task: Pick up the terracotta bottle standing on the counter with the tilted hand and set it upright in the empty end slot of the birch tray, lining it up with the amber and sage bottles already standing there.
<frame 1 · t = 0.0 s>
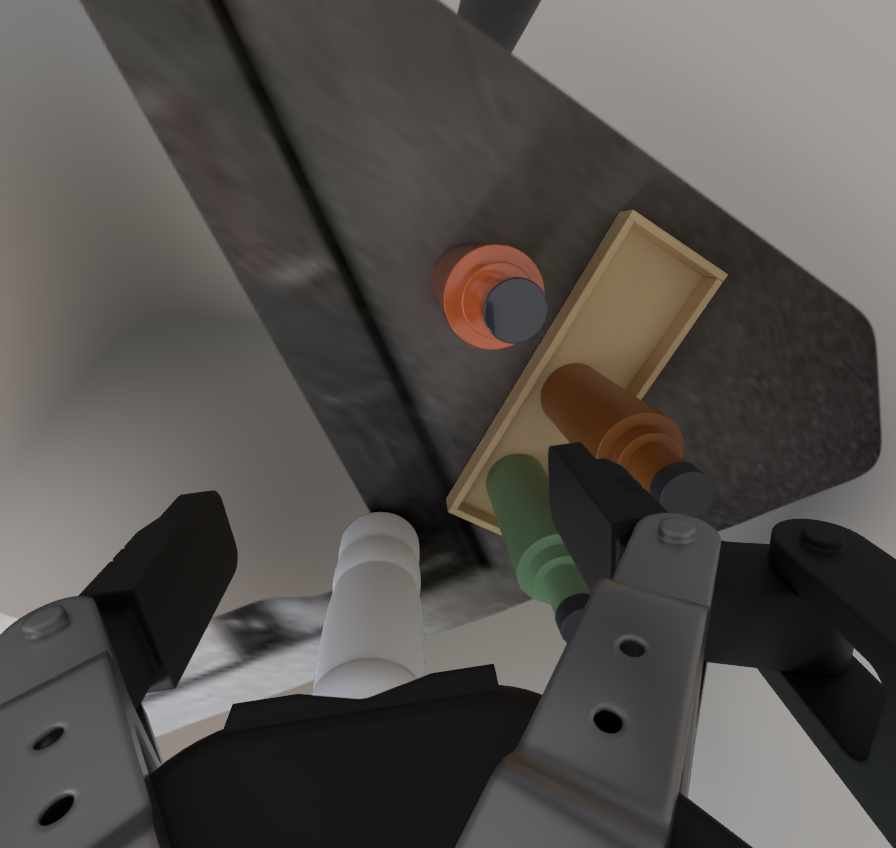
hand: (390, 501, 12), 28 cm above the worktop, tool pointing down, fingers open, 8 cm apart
sage bottle: (515, 481, 43), resting on tray
tray: (569, 392, 41), on the worktop
amber bottle: (571, 394, 40), resting on tray
water bottle: (380, 540, 44), on the worktop
terracotta bottle: (465, 282, 37), on the worktop
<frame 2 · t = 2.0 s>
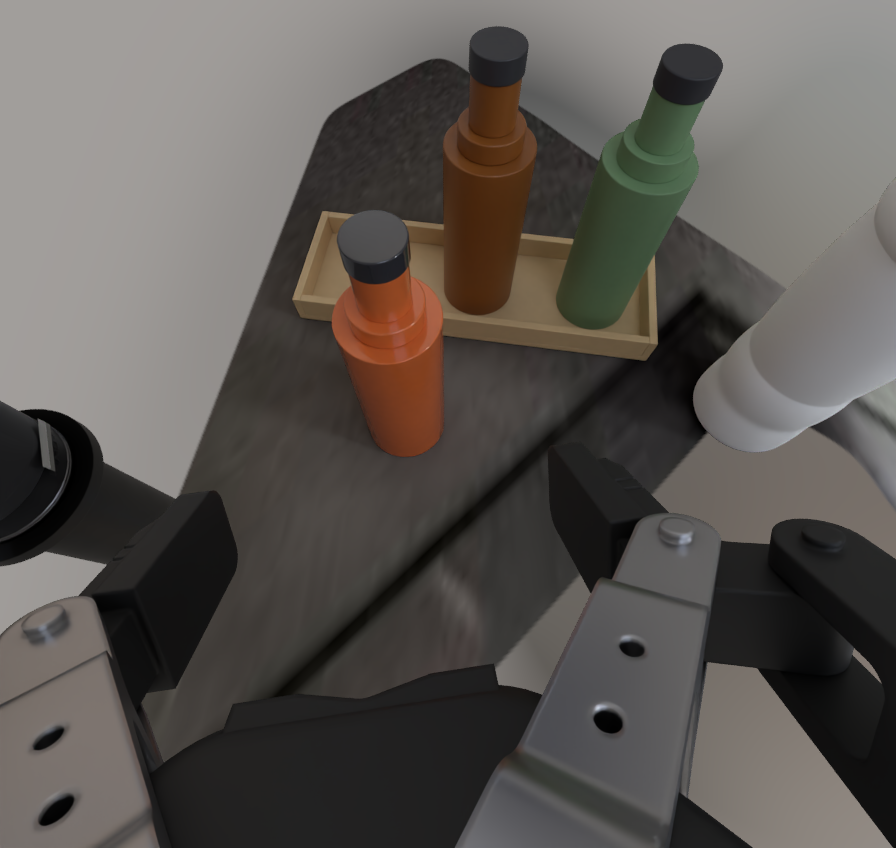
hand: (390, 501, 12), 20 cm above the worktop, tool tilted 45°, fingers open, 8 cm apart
sage bottle: (589, 301, 38), resting on tray
tray: (476, 292, 39), on the worktop
amber bottle: (477, 288, 39), resting on tray
water bottle: (736, 411, 35), on the worktop
terracotta bottle: (406, 421, 35), on the worktop
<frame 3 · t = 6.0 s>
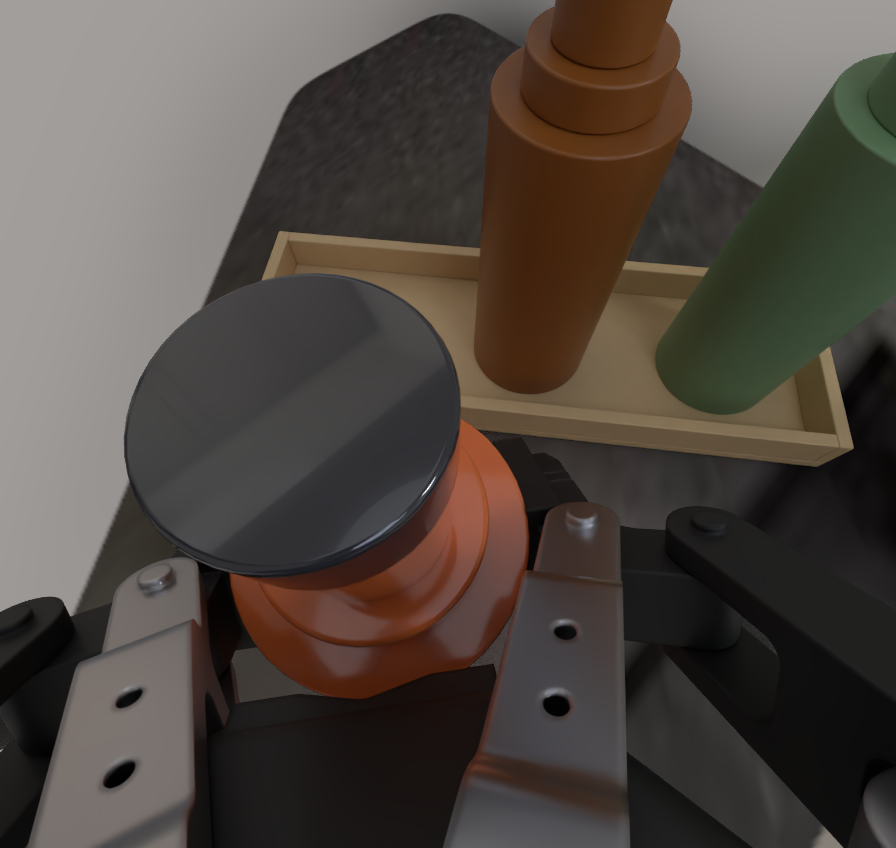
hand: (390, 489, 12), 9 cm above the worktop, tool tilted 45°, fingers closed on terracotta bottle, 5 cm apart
sage bottle: (710, 366, 24), resting on tray
tray: (525, 353, 25), on the worktop
amber bottle: (527, 347, 24), resting on tray
terracotta bottle: (421, 594, 20), on the worktop, touching gripper
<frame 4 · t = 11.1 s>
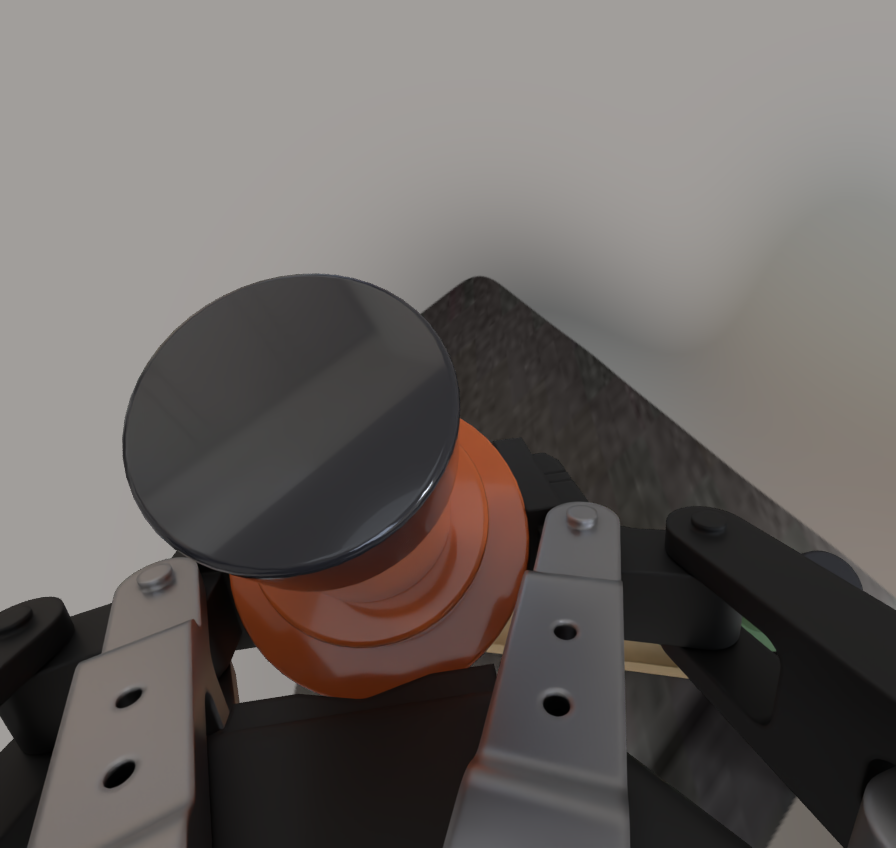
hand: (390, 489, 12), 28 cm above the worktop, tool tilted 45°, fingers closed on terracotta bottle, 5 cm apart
sage bottle: (665, 608, 36), resting on tray
tray: (544, 593, 38), on the worktop
terracotta bottle: (421, 594, 20), point 19 cm above the worktop, touching gripper
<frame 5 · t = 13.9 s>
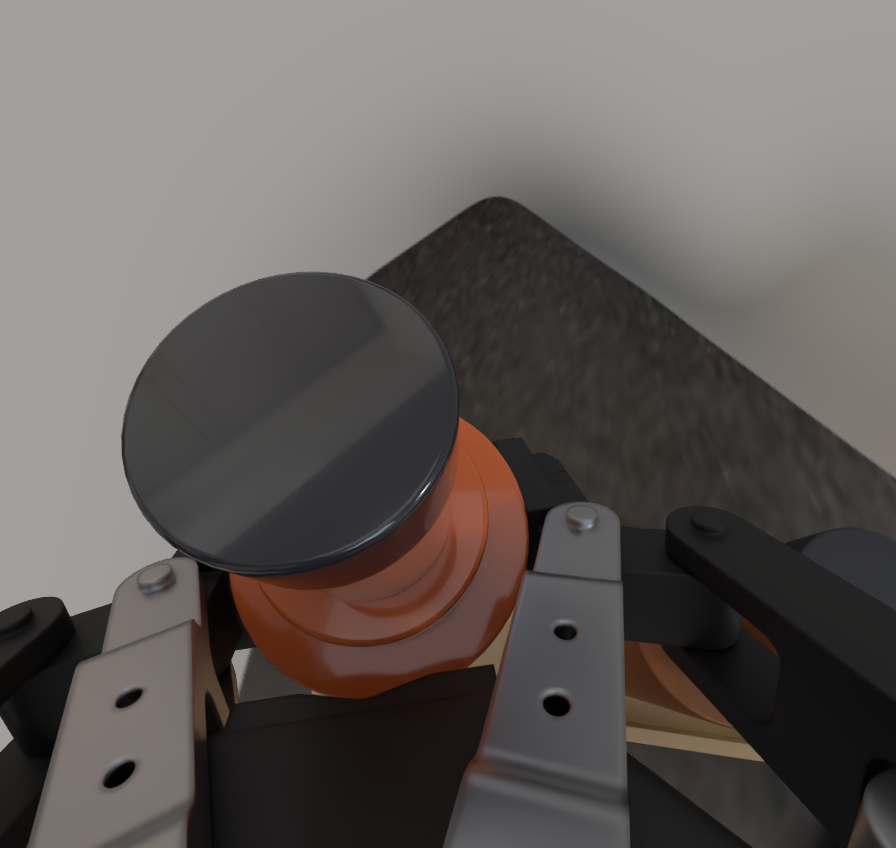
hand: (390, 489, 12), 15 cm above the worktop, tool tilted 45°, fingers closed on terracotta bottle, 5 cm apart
tray: (597, 628, 25), on the worktop
amber bottle: (600, 627, 25), resting on tray
terracotta bottle: (421, 593, 20), point 6 cm above the worktop, touching gripper
when the fingers open (10 cm above the worktop, at t = 16.0 s): terracotta bottle stays where it is, resting on tray.
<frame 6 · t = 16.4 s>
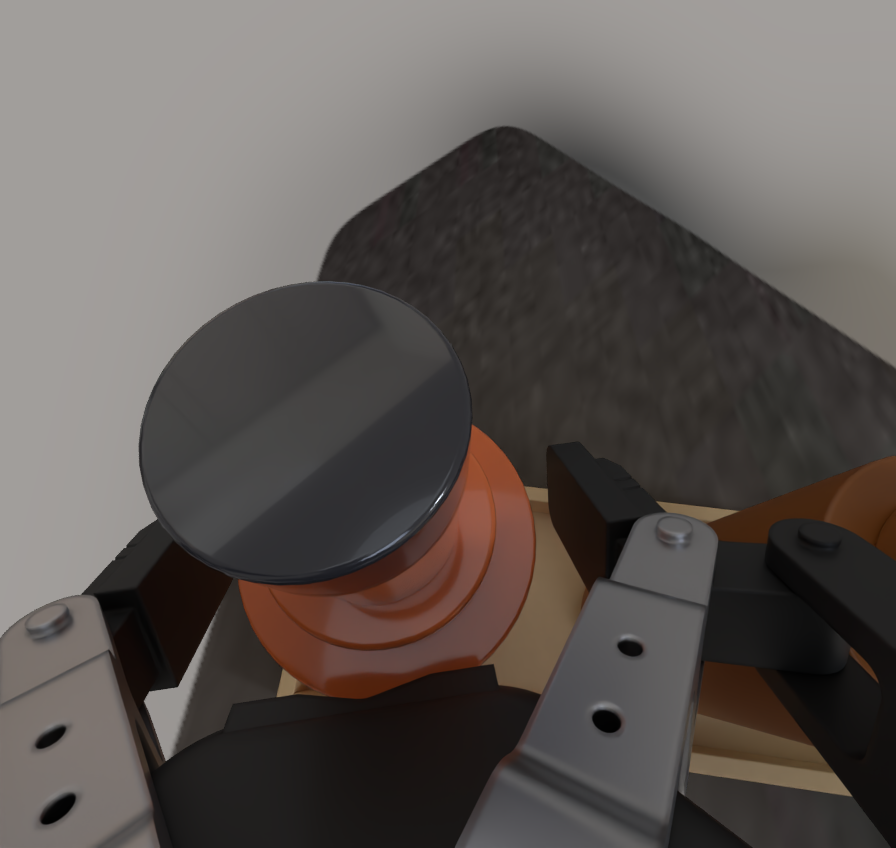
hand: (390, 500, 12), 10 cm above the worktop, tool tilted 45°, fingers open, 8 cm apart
tray: (639, 623, 20), on the worktop
amber bottle: (646, 622, 19), point 1 cm above the worktop, touching tray
terracotta bottle: (426, 594, 20), resting on tray
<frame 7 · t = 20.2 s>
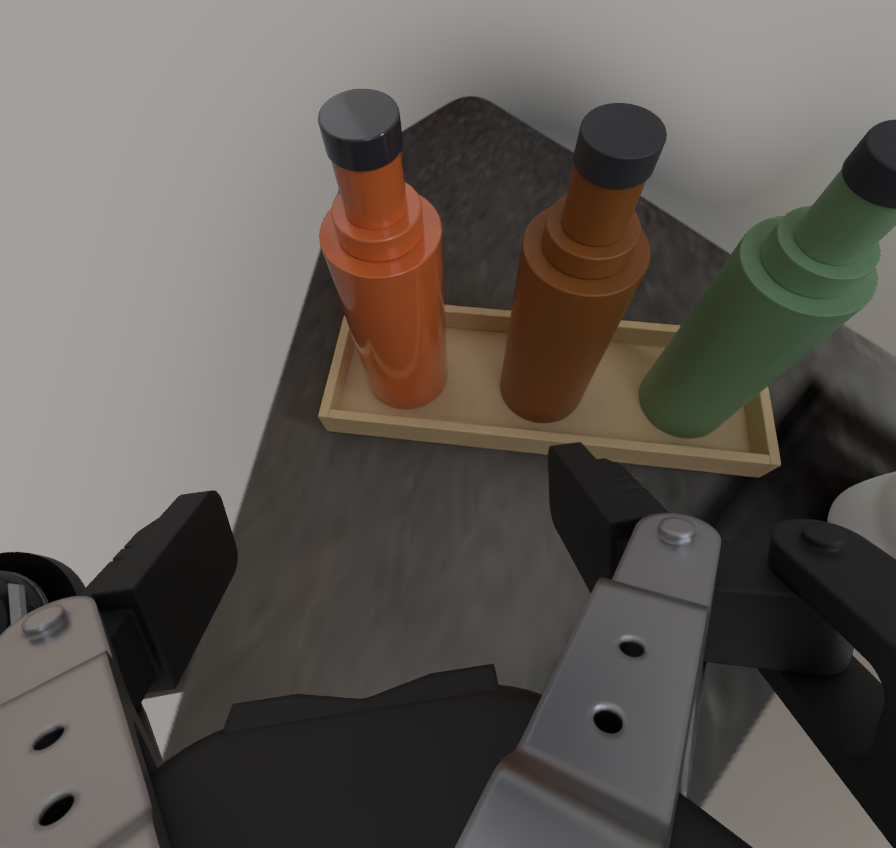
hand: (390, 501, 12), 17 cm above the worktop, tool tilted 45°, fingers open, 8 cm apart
sage bottle: (680, 400, 31), resting on tray
tray: (539, 390, 32), on the worktop
amber bottle: (540, 386, 32), resting on tray
water bottle: (882, 545, 28), on the worktop
terracotta bottle: (407, 373, 32), resting on tray
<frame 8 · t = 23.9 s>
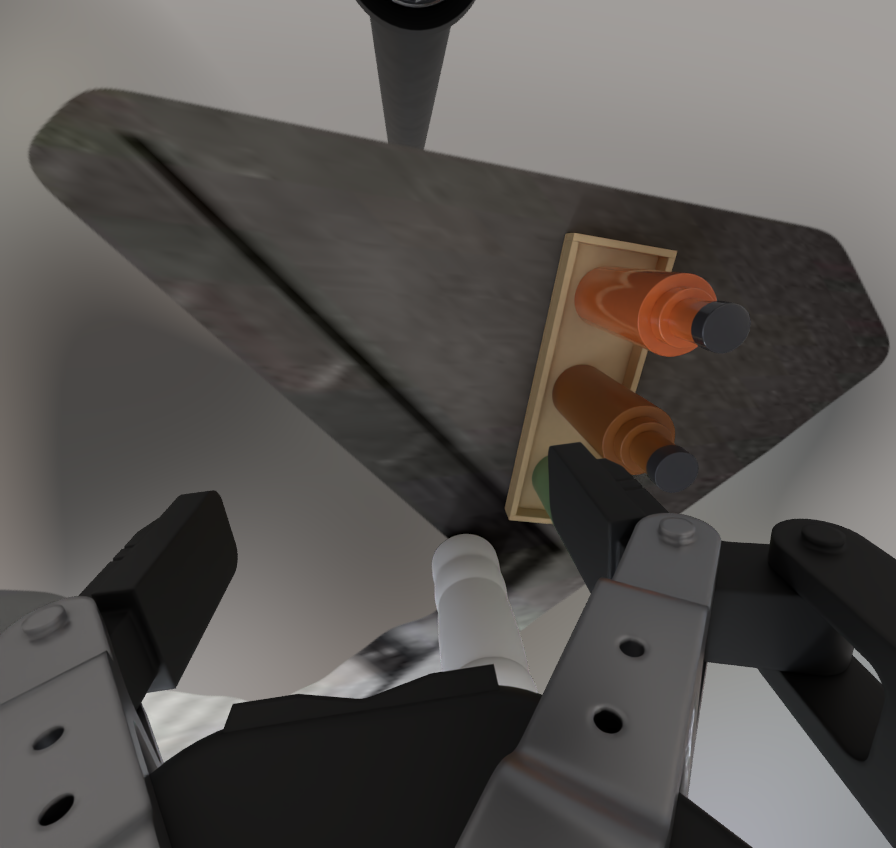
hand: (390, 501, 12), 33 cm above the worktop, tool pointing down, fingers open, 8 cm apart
sage bottle: (557, 476, 49), resting on tray
tray: (577, 390, 47), on the worktop
amber bottle: (579, 391, 46), resting on tray
water bottle: (463, 557, 52), on the worktop
terracotta bottle: (603, 297, 43), resting on tray
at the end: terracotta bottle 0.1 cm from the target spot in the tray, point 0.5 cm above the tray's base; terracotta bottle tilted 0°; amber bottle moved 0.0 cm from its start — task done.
